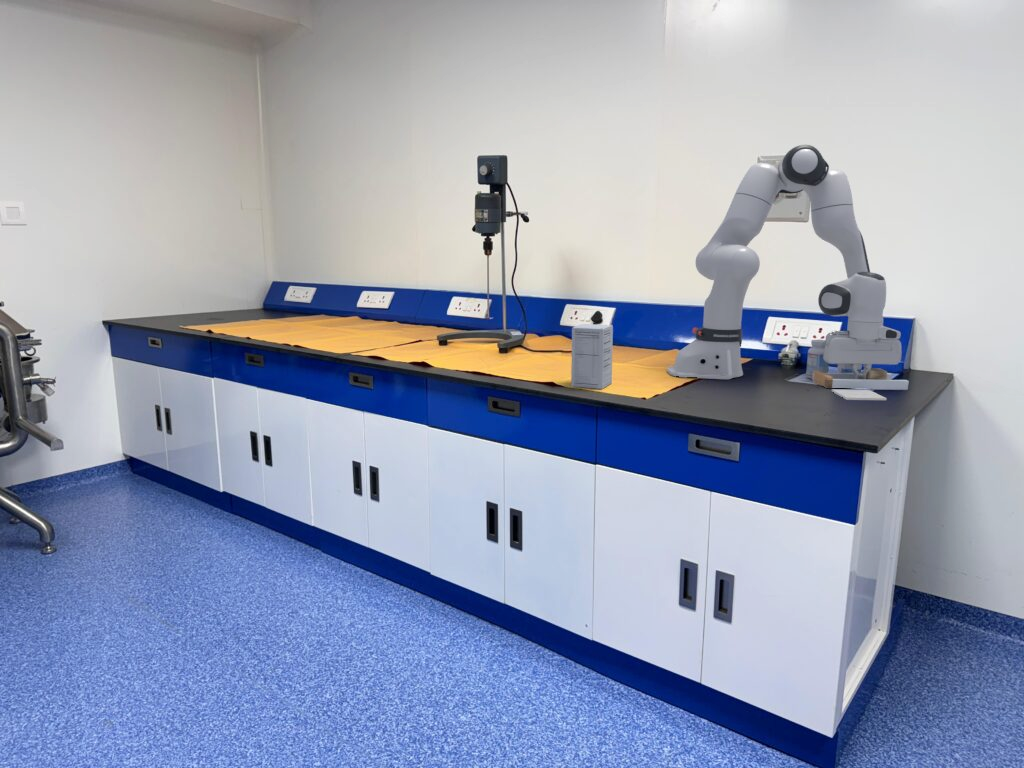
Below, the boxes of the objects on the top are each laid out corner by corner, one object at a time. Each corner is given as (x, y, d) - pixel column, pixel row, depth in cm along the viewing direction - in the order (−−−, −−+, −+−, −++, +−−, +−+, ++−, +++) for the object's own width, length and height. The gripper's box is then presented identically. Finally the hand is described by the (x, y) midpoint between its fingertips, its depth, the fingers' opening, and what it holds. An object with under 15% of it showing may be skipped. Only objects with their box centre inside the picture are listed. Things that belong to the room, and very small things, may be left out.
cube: (869, 386, 197) (870, 371, 196) (862, 383, 201) (863, 368, 200) (885, 387, 197) (887, 371, 196) (878, 383, 201) (880, 368, 200)
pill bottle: (826, 376, 211) (830, 339, 209) (828, 380, 205) (832, 342, 203) (805, 375, 213) (808, 338, 211) (806, 379, 207) (809, 341, 205)
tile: (846, 399, 181) (846, 397, 181) (831, 391, 191) (831, 389, 191) (886, 400, 181) (886, 398, 180) (868, 392, 190) (869, 389, 190)
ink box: (861, 378, 208) (865, 339, 206) (843, 378, 209) (847, 339, 207) (853, 373, 216) (857, 335, 214) (836, 372, 217) (840, 335, 215)
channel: (826, 388, 194) (827, 377, 194) (811, 380, 205) (812, 369, 204) (907, 389, 193) (909, 378, 192) (888, 381, 204) (890, 371, 203)
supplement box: (612, 383, 200) (614, 324, 197) (602, 389, 192) (604, 328, 188) (580, 380, 204) (582, 323, 200) (569, 386, 196) (571, 326, 192)
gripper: (830, 332, 193) (826, 381, 196) (907, 332, 192) (901, 382, 195) (822, 329, 199) (817, 376, 202) (896, 329, 198) (890, 377, 201)
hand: (859, 379), depth 199 cm, fingers closed
